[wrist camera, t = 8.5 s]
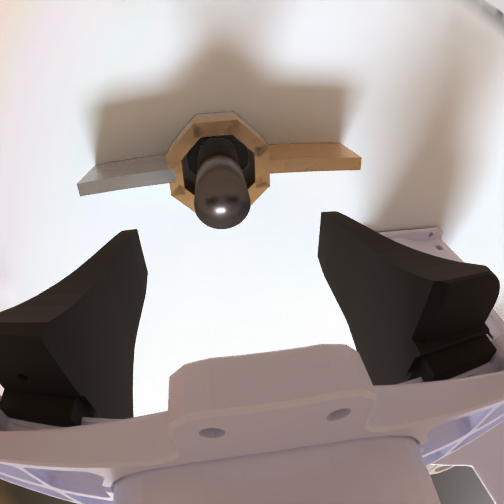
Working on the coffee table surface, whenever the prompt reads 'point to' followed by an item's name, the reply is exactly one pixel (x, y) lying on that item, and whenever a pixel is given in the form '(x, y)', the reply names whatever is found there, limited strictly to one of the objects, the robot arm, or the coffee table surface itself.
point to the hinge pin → (220, 185)
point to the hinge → (215, 124)
